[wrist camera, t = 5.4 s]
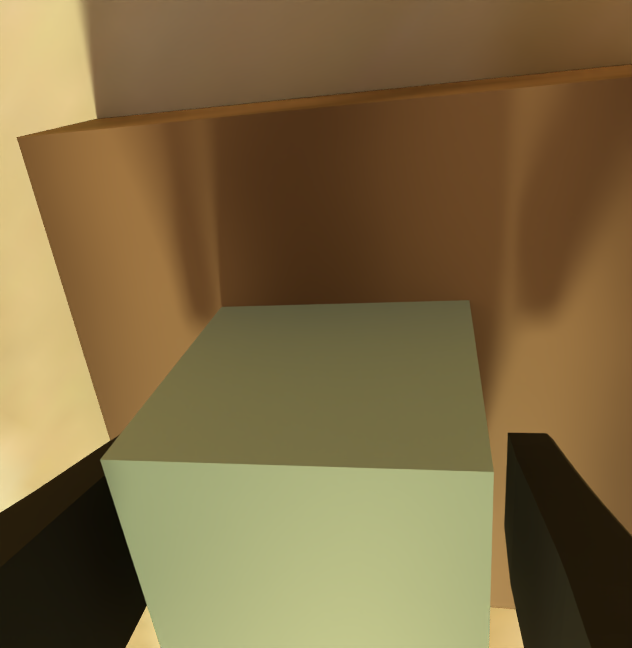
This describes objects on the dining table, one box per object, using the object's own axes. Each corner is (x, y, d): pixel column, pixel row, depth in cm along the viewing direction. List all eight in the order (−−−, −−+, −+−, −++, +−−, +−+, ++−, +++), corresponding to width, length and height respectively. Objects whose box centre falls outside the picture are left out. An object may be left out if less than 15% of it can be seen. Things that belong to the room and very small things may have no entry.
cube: (469, 300, 11) (493, 472, 7) (468, 503, 13) (486, 737, 9) (221, 307, 12) (100, 459, 8) (257, 494, 14) (177, 698, 10)
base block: (643, 62, 11) (706, 69, 9) (588, 524, 16) (618, 617, 14) (95, 119, 14) (16, 137, 11) (192, 505, 19) (153, 581, 16)
